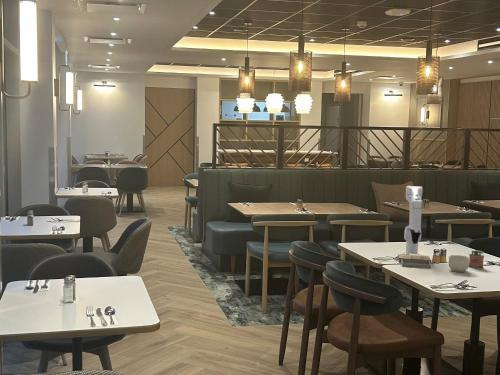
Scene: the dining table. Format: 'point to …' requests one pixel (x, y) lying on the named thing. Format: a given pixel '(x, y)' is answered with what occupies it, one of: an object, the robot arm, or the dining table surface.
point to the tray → (415, 263)
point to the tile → (414, 256)
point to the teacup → (458, 263)
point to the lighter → (476, 259)
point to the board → (406, 257)
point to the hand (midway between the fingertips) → (414, 242)
